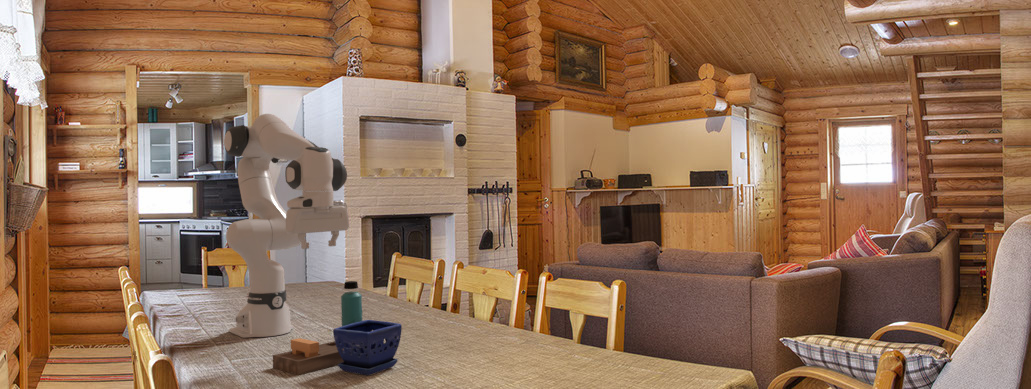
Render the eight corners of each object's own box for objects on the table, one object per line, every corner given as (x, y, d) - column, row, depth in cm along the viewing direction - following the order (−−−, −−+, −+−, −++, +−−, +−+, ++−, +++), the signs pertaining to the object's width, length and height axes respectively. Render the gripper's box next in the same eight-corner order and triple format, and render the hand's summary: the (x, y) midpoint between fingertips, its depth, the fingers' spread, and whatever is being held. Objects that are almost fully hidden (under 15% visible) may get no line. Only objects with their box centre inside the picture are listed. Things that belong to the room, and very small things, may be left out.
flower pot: (369, 379, 172) (368, 332, 172) (332, 372, 179) (331, 327, 179) (404, 367, 184) (403, 323, 184) (368, 361, 191) (367, 318, 191)
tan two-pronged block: (319, 368, 184) (318, 342, 184) (310, 370, 182) (310, 344, 182) (299, 363, 190) (299, 338, 190) (291, 365, 188) (290, 339, 188)
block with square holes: (273, 368, 185) (272, 355, 185) (345, 350, 204) (345, 339, 204) (298, 374, 177) (298, 361, 177) (371, 356, 196) (371, 344, 196)
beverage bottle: (358, 349, 206) (356, 282, 205) (337, 348, 207) (336, 282, 207) (366, 344, 212) (365, 280, 212) (347, 343, 213) (345, 279, 213)
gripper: (340, 200, 213) (341, 244, 213) (282, 201, 197) (282, 249, 197) (353, 200, 209) (353, 245, 209) (294, 201, 193) (295, 250, 193)
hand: (319, 247), depth 203 cm, fingers open, 8 cm apart
